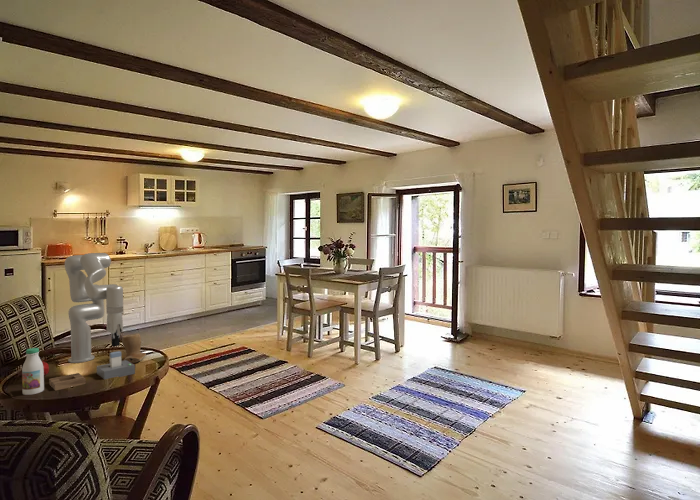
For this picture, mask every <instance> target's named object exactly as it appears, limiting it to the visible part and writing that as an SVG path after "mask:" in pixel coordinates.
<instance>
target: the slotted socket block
mask: <svg viewBox="0 0 700 500" xmlns="http://www.w3.org/2000/svg"><path fill="white" fill-rule="evenodd" d="M86 381H87V379H86V377H85V376H83V375H82V374H80V373H79V372H77V373H72V374H68V375H67V374H66V375H61V376H57V377H53V378H49V379H48V384H49V386H51V388H52V389H53V390H54V391H60V390H64V389H69V388H72V387H73V388H74V387H77V386H82V385H85V384H87V382H86Z"/></svg>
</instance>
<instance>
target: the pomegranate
mask: <svg viewBox="0 0 700 500" xmlns="http://www.w3.org/2000/svg"><path fill="white" fill-rule="evenodd" d="M40 360H41V361H42V363H43V369H44V377H45V376H47V375H48V374H49V371H50V367H49V364H48V363H47V362H46V361H48V360H47V359H44V360H42V359H41V358H40Z"/></svg>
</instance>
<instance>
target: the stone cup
mask: <svg viewBox="0 0 700 500" xmlns="http://www.w3.org/2000/svg"><path fill="white" fill-rule="evenodd" d="M121 341H122V345H123V347H124V351H125V352H126V355H125V357H124V359H123V360H122V361H124V360H127V361H129V362H130V363H132V364H134V363H138V362H140V361H142V360H143V358H145V357H146V355H147V353H146V352H141V347H142V346H141V345H142V337H141V334H140V333H139V332H136V333H131V334H127V335H123V336H122V338H121Z"/></svg>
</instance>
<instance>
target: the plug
mask: <svg viewBox="0 0 700 500" xmlns="http://www.w3.org/2000/svg"><path fill="white" fill-rule="evenodd" d="M121 361H122V351H119V350H118V351H113V352H109V364H110V368H113V367H117V366H121Z"/></svg>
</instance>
